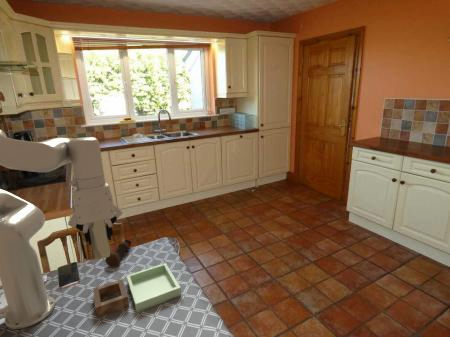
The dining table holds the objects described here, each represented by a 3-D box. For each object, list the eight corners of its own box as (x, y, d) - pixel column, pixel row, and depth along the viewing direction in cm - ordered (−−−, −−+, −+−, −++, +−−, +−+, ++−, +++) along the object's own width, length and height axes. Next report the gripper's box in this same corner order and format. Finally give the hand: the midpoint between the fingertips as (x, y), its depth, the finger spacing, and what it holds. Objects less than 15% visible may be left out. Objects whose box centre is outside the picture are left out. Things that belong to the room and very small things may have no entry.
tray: (136, 312, 83) (135, 304, 82) (127, 283, 96) (126, 275, 96) (181, 295, 89) (180, 287, 88) (166, 270, 103) (165, 262, 102)
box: (94, 252, 85) (87, 213, 82) (110, 248, 87) (103, 210, 83) (94, 261, 80) (86, 220, 77) (110, 257, 82) (103, 217, 79)
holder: (97, 318, 81) (95, 307, 80) (94, 297, 90) (93, 288, 89) (129, 306, 85) (127, 296, 84) (123, 287, 94) (122, 278, 93)
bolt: (130, 250, 121) (115, 269, 107) (120, 245, 121) (103, 264, 107) (135, 239, 120) (120, 258, 105) (125, 234, 120) (108, 252, 105)
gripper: (54, 191, 71) (67, 254, 75) (124, 179, 78) (131, 238, 83) (56, 183, 77) (67, 242, 82) (120, 174, 85) (127, 228, 89)
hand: (99, 240), depth 82 cm, fingers closed on box, 4 cm apart
